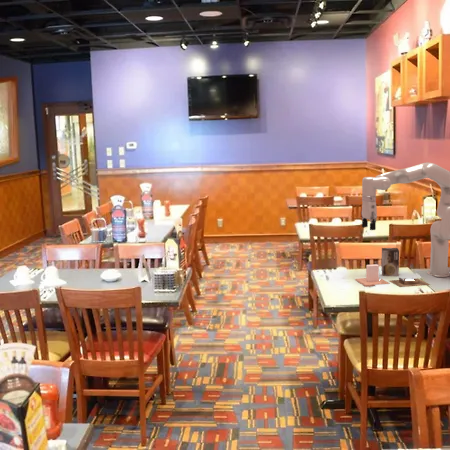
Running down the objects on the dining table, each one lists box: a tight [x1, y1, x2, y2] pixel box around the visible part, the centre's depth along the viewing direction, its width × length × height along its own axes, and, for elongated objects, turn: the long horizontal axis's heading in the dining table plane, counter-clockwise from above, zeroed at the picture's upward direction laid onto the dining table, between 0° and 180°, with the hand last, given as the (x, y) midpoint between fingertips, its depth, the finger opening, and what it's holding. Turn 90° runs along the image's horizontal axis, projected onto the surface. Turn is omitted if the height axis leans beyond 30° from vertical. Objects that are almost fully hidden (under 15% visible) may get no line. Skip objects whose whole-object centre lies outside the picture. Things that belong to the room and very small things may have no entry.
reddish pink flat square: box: [354, 277, 391, 288], centre depth 338 cm, size 14×14×1 cm
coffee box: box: [381, 247, 400, 277], centre depth 350 cm, size 9×6×16 cm
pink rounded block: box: [365, 263, 380, 282], centre depth 337 cm, size 6×3×9 cm, turn 101°
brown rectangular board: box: [388, 277, 431, 288], centre depth 333 cm, size 18×14×3 cm
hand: (368, 228), depth 346 cm, fingers open, 9 cm apart
